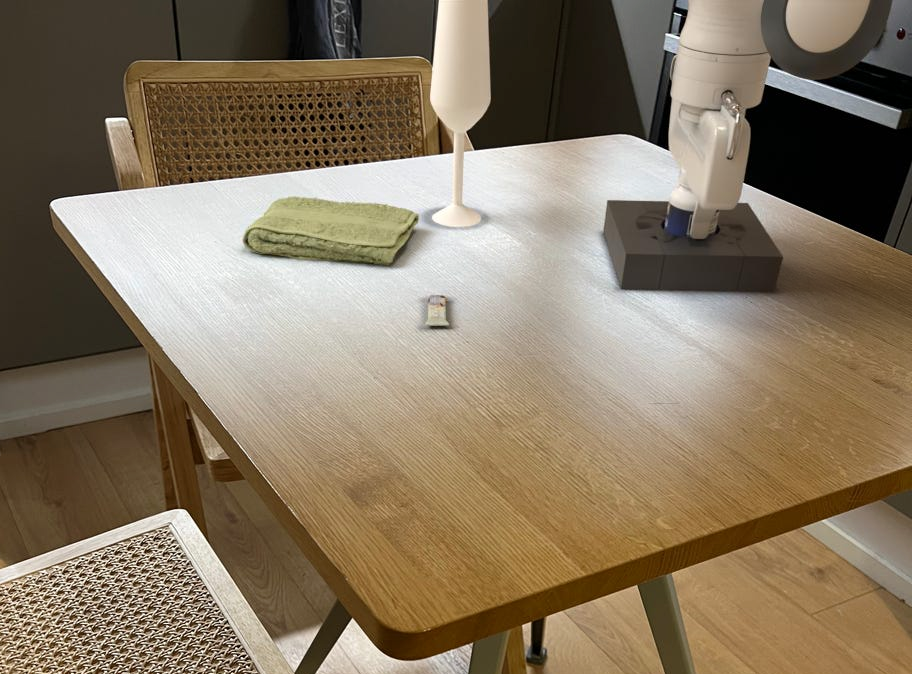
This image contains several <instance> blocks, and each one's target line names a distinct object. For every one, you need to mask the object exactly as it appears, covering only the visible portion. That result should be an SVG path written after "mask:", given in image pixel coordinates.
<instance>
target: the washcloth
mask: <svg viewBox="0 0 912 674" xmlns="http://www.w3.org/2000/svg"><path fill="white" fill-rule="evenodd" d="M419 220H420V217H419V213H415V212H414V211H413V210H410V209H408V208H404V207H398V206H394V205H388V203H386V204H383V203H376V202H355V201H351V202H350V201H347V200H346V201H337V200H335V201H333V200H329V199H323V198H317V197H305V196H303V197H300V196H297V195H296V196H295V195H294V196H288V197H282V198H278V199H276V200H275V201H273V202H272V203H271V204H270V205H269V207H268V208H267V209H266V211H264V213H263V215H262V216H261V217H259V218H257V219H256V220H255V221H253V223H251V224H250V225H249V226H247V228H246V229H245V230H244V234H243V235H242V243H243V246H244V247H245V248H246V249H247V250H248V251H251V252H253V253H255V254H258V255H262V254H263V255H275V256H281V257H287V258H289V259H297V260H306V261H330V262H345V263H363V264H364V263H365V264H367V263H368V264H370V263H371V264H372V263H373V264H374V265H380V266H384V265H385V266H390V265H392V264H391V263H393V262H394V258H395V256H396V254H397V252H398V251H399V250H400V249H401V248H402V247H403V246H404V245H405V244H406V243H407V241H408V239H409V238H410V235H411V233H412V231H413V230H414V229H415V228H414V227H415V226H416V225H418V223H419Z"/></svg>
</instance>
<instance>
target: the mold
mask: <svg viewBox="0 0 912 674" xmlns="http://www.w3.org/2000/svg"><path fill="white" fill-rule="evenodd" d="M668 204H669V200H628V199H627V200H623V199H622V200H621V199H608V200H606V206H605V216H604V222H603V230H602V231H603V232H602V235H603V238H604V241H605V245H606V247H607V251H608V255H609V257H610V260H611V263H612V266H613V269H614V273H615V276H616V279H617V281H618V282H617V283H618V286H619V289H620V290H621V291H622V290H623V291H669V292H670V291H671V292H672V291H673V292H676V291H677V292H716V293H717V292H718V293H719V292H723V293H725V292H726V293H764V294H765V293H767V294H768V293H769V294H774V293H775V290H776V287H777V283H778V279H779V275H780V272H781V268H782V264H783V261H784V256H783V254H782V252H781V251H780V250H779V248H778V247H777V245H776V244H775V242H774V241H773V239H772V238H771V236H770V235H769V233H768V232H767V229H766V228H765V227H764V225H763V224H762V222H761V221H760V219H759V218H758V216H757V215H756V213H755V212H754V210H753V209H752V207H751V205H750V204H749V203H748V202H738V204H737V206H736V207H735V208H734V209H732V210H720V212H719V217H718V221H717V226H716V231H715V235H714V236H710V237H706V238H704V239H693V238H689V237H683V236H678V235H675V234H672V233H669V232H667V231H665V230H664V227H665V221H666V216H667V210H668Z"/></svg>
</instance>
